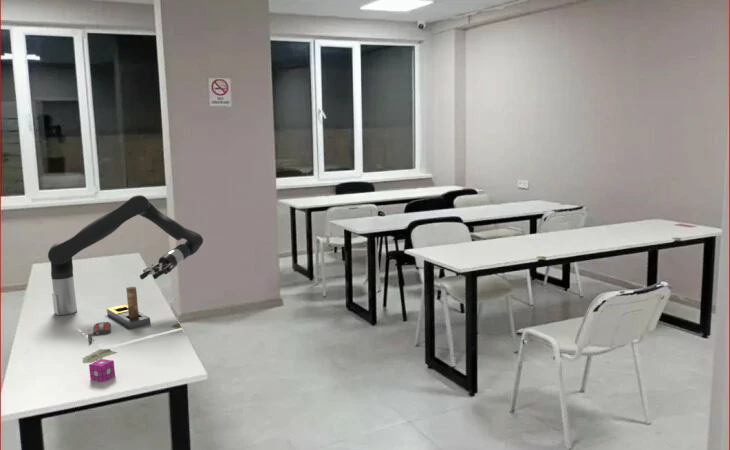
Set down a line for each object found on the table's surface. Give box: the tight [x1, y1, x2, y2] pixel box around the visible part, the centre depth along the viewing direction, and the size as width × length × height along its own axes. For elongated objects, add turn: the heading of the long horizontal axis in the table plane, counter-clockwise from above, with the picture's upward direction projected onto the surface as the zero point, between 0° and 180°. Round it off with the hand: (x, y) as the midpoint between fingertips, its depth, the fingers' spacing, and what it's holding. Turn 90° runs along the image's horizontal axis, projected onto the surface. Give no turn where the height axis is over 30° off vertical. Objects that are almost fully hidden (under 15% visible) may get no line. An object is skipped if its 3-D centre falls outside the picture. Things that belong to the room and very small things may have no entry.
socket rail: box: [105, 304, 154, 331], centre depth 275 cm, size 11×28×4 cm, turn 42°
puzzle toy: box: [88, 358, 116, 383], centre depth 214 cm, size 6×6×6 cm
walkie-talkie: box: [87, 321, 112, 343], centre depth 258 cm, size 9×4×20 cm
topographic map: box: [81, 348, 119, 364], centre depth 232 cm, size 13×14×2 cm
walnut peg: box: [125, 286, 139, 319], centre depth 269 cm, size 4×4×16 cm
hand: (147, 277), depth 276 cm, fingers open, 8 cm apart
